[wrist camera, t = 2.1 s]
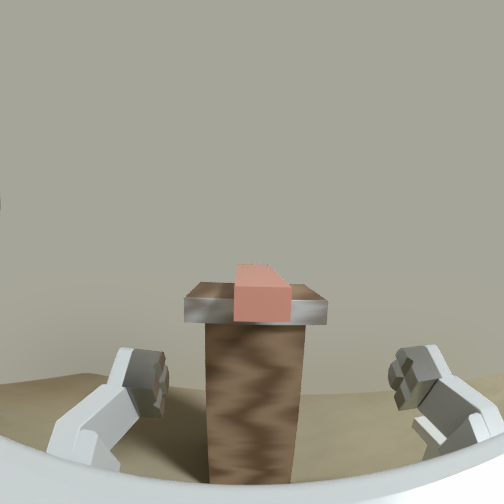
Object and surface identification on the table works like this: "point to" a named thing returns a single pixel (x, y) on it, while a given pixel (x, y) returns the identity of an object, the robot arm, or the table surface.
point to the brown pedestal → (252, 383)
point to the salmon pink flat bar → (261, 295)
